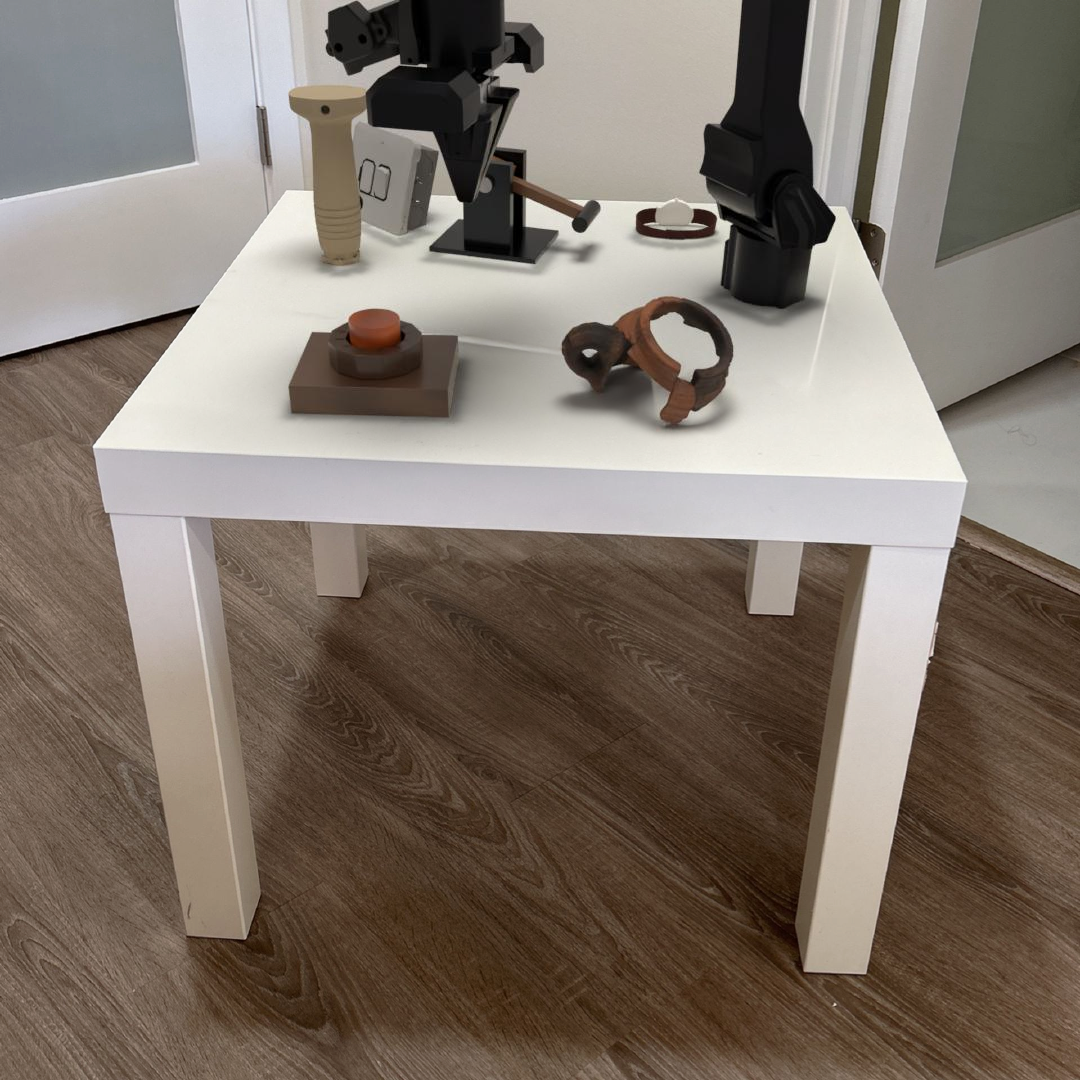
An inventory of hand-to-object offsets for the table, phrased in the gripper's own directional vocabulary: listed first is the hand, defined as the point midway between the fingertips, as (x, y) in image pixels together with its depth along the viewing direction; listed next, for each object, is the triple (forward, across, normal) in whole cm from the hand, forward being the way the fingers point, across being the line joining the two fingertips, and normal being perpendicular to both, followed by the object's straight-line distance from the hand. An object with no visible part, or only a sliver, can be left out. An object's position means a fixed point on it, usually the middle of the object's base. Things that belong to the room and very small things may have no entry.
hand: (466, 201), depth 82 cm
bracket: (+13, -23, -6) cm, 27 cm away
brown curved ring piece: (+13, +2, +13) cm, 19 cm away
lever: (+8, -23, -2) cm, 25 cm away
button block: (+12, +6, -5) cm, 15 cm away
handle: (+13, -15, -18) cm, 26 cm away
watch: (+13, -32, +10) cm, 36 cm away
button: (+9, +6, -5) cm, 12 cm away
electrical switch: (+13, -27, -18) cm, 34 cm away
